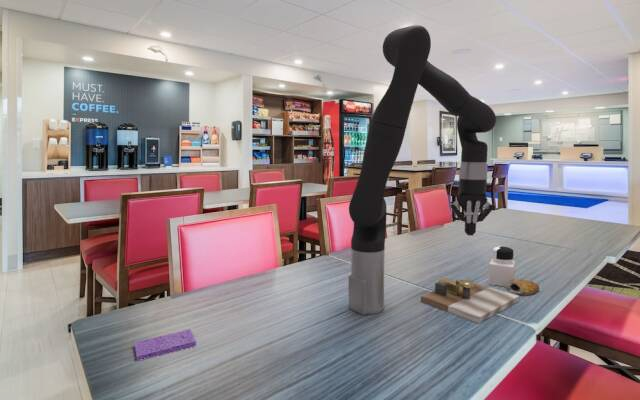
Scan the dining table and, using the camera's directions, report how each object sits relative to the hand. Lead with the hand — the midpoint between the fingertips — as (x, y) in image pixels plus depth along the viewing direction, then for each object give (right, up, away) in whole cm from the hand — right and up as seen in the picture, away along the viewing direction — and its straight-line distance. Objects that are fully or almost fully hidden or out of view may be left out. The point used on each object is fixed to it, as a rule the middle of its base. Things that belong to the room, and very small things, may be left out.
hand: (469, 234), depth 112 cm
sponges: (-81, -24, -26) cm, 88 cm away
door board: (-1, -19, -3) cm, 19 cm away
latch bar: (-5, -17, -1) cm, 18 cm away
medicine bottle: (+15, -17, +12) cm, 26 cm away
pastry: (+18, -18, +4) cm, 26 cm away
